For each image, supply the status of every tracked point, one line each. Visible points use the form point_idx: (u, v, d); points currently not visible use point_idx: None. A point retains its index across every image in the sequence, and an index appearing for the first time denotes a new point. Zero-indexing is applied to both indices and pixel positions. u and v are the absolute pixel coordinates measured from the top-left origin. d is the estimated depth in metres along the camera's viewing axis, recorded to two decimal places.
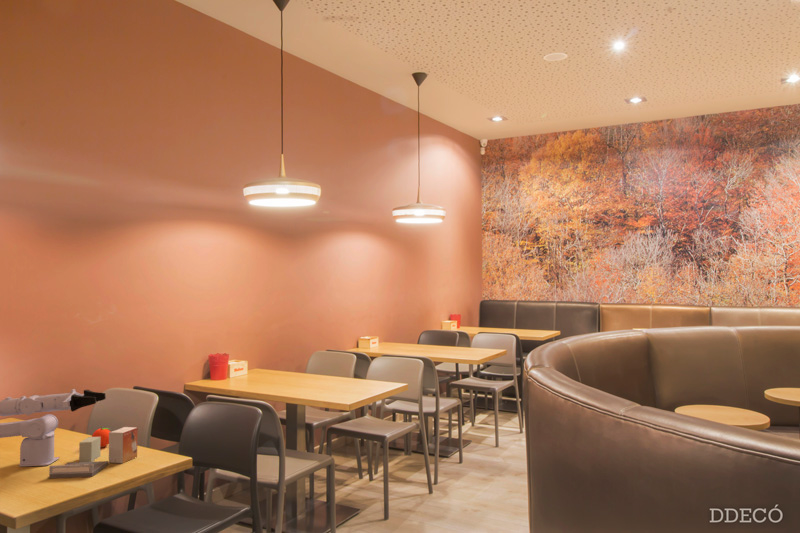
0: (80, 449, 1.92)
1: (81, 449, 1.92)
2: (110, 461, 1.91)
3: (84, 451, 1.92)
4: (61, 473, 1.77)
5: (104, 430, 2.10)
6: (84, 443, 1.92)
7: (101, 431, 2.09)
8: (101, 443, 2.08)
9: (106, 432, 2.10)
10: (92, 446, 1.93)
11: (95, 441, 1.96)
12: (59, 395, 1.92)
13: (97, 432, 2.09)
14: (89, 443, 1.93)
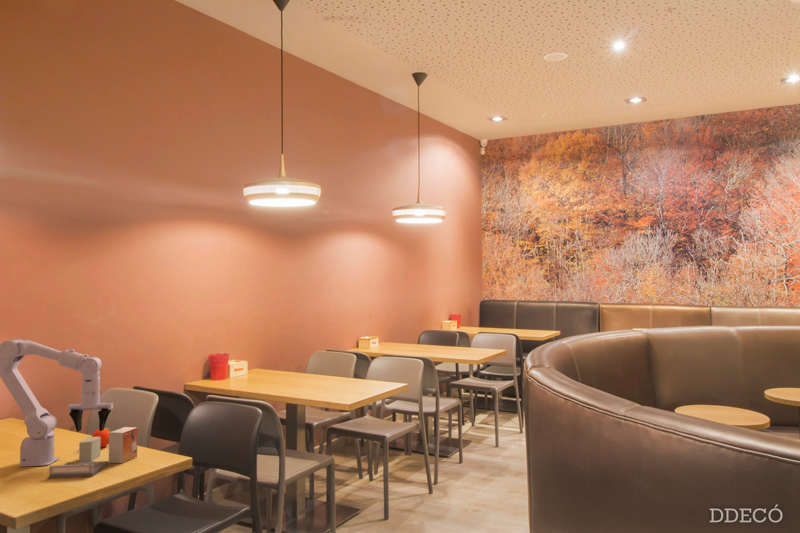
0: (80, 449, 1.92)
1: (81, 449, 1.92)
2: (110, 461, 1.91)
3: (84, 451, 1.92)
4: (61, 473, 1.77)
5: (104, 430, 2.10)
6: (84, 443, 1.92)
7: (101, 431, 2.09)
8: (101, 443, 2.08)
9: (106, 432, 2.10)
10: (92, 446, 1.93)
11: (95, 441, 1.96)
12: None
13: (97, 432, 2.09)
14: (89, 443, 1.92)
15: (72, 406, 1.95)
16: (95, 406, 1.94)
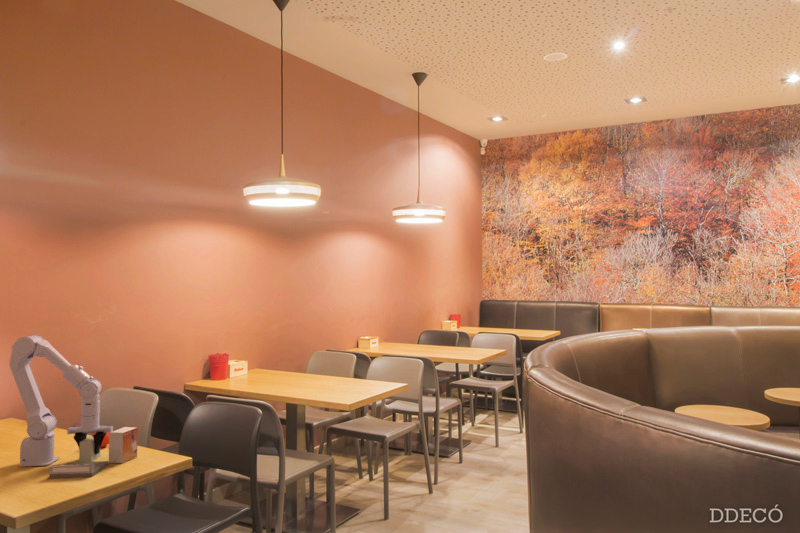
0: (80, 449, 1.92)
1: (81, 449, 1.92)
2: (110, 461, 1.91)
3: (84, 451, 1.92)
4: (61, 473, 1.77)
5: None
6: (84, 443, 1.92)
7: None
8: None
9: None
10: (92, 446, 1.93)
11: None
12: None
13: None
14: (89, 443, 1.92)
15: (72, 429, 1.94)
16: (95, 429, 1.94)
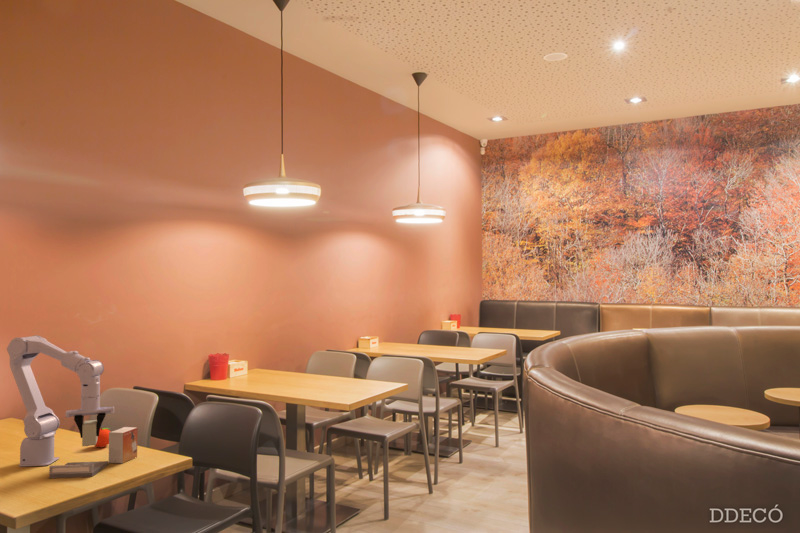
0: (83, 432, 1.87)
1: (84, 432, 1.87)
2: (110, 461, 1.91)
3: (88, 433, 1.88)
4: (61, 473, 1.77)
5: (104, 430, 2.10)
6: (88, 426, 1.88)
7: (101, 431, 2.09)
8: (101, 443, 2.08)
9: (106, 432, 2.10)
10: (96, 429, 1.89)
11: (96, 424, 1.91)
12: None
13: None
14: (93, 425, 1.88)
15: (71, 412, 1.88)
16: (98, 410, 1.90)
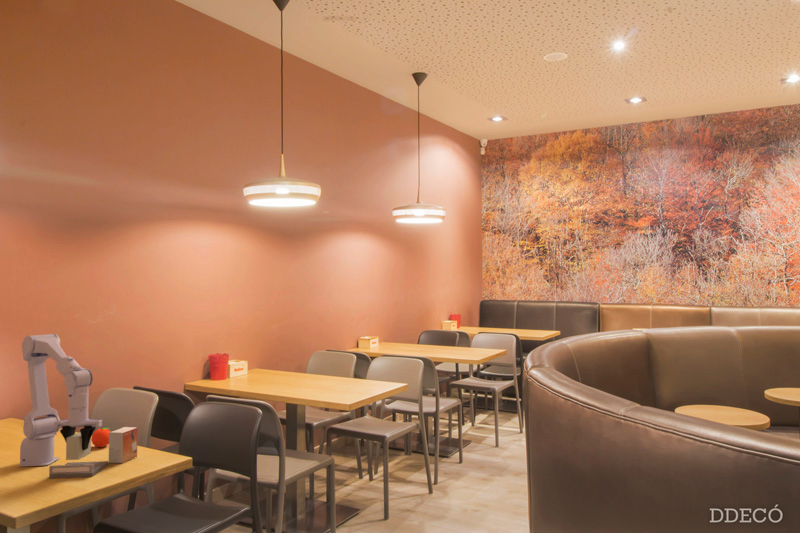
0: (67, 445, 1.79)
1: (68, 445, 1.79)
2: (110, 461, 1.91)
3: (71, 447, 1.79)
4: (61, 473, 1.77)
5: (104, 430, 2.10)
6: (71, 439, 1.79)
7: (101, 431, 2.09)
8: (101, 443, 2.08)
9: (106, 432, 2.10)
10: (80, 442, 1.80)
11: None
12: None
13: (97, 432, 2.09)
14: (76, 439, 1.79)
15: (59, 423, 1.81)
16: (82, 423, 1.80)
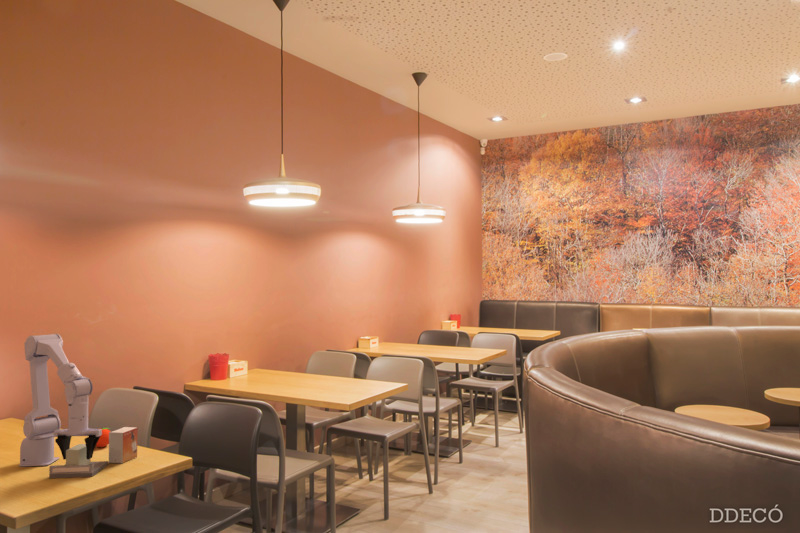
0: (67, 458, 1.78)
1: (68, 457, 1.78)
2: (110, 461, 1.91)
3: (71, 459, 1.78)
4: (61, 473, 1.77)
5: (104, 430, 2.10)
6: (71, 451, 1.79)
7: None
8: (101, 443, 2.08)
9: (106, 432, 2.10)
10: (80, 455, 1.79)
11: (83, 449, 1.82)
12: None
13: None
14: (76, 451, 1.79)
15: (59, 432, 1.81)
16: (82, 432, 1.80)
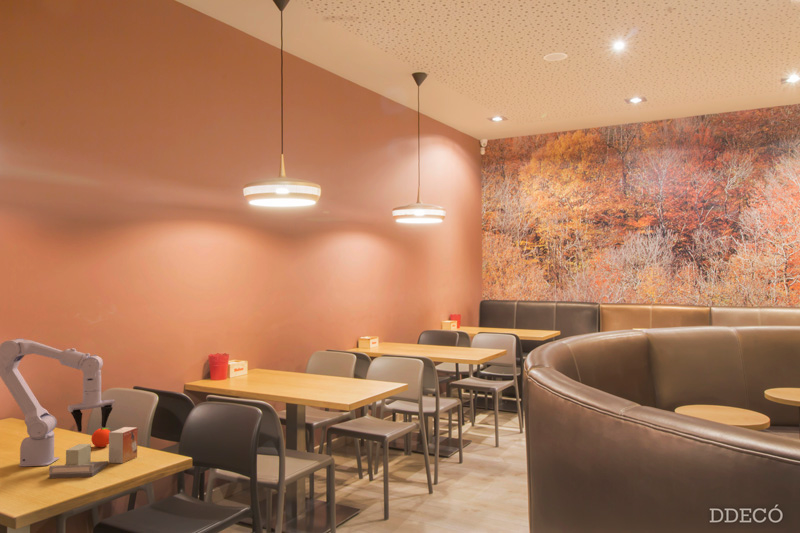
0: (67, 458, 1.78)
1: (68, 457, 1.78)
2: (110, 461, 1.91)
3: (71, 459, 1.78)
4: (61, 473, 1.77)
5: (104, 430, 2.10)
6: (71, 451, 1.79)
7: (101, 431, 2.09)
8: (101, 443, 2.08)
9: (106, 432, 2.10)
10: (80, 455, 1.79)
11: (83, 449, 1.82)
12: None
13: (97, 432, 2.09)
14: (76, 451, 1.79)
15: (75, 406, 1.92)
16: (102, 403, 1.97)
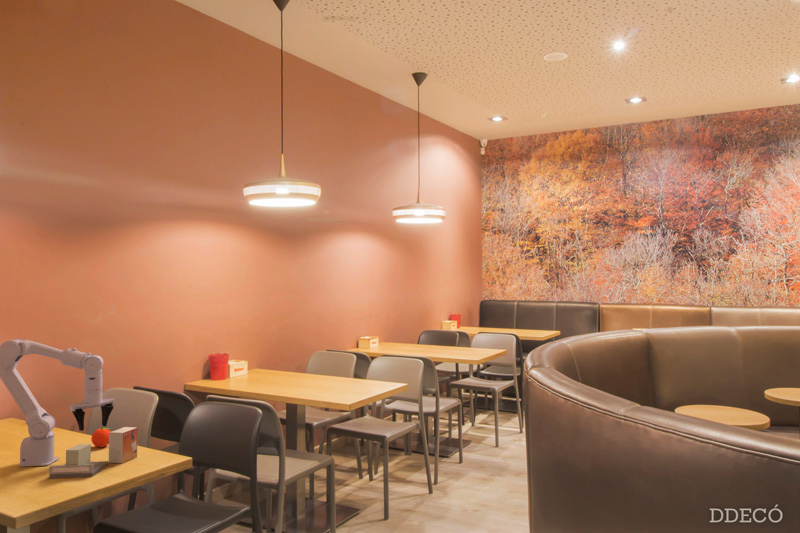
0: (67, 458, 1.78)
1: (68, 457, 1.78)
2: (110, 461, 1.91)
3: (71, 459, 1.78)
4: (61, 473, 1.77)
5: (104, 430, 2.10)
6: (71, 451, 1.79)
7: (101, 431, 2.10)
8: (101, 443, 2.08)
9: (106, 432, 2.10)
10: (80, 455, 1.79)
11: (83, 449, 1.82)
12: None
13: (97, 432, 2.09)
14: (76, 451, 1.79)
15: (77, 406, 1.93)
16: (103, 402, 1.99)
